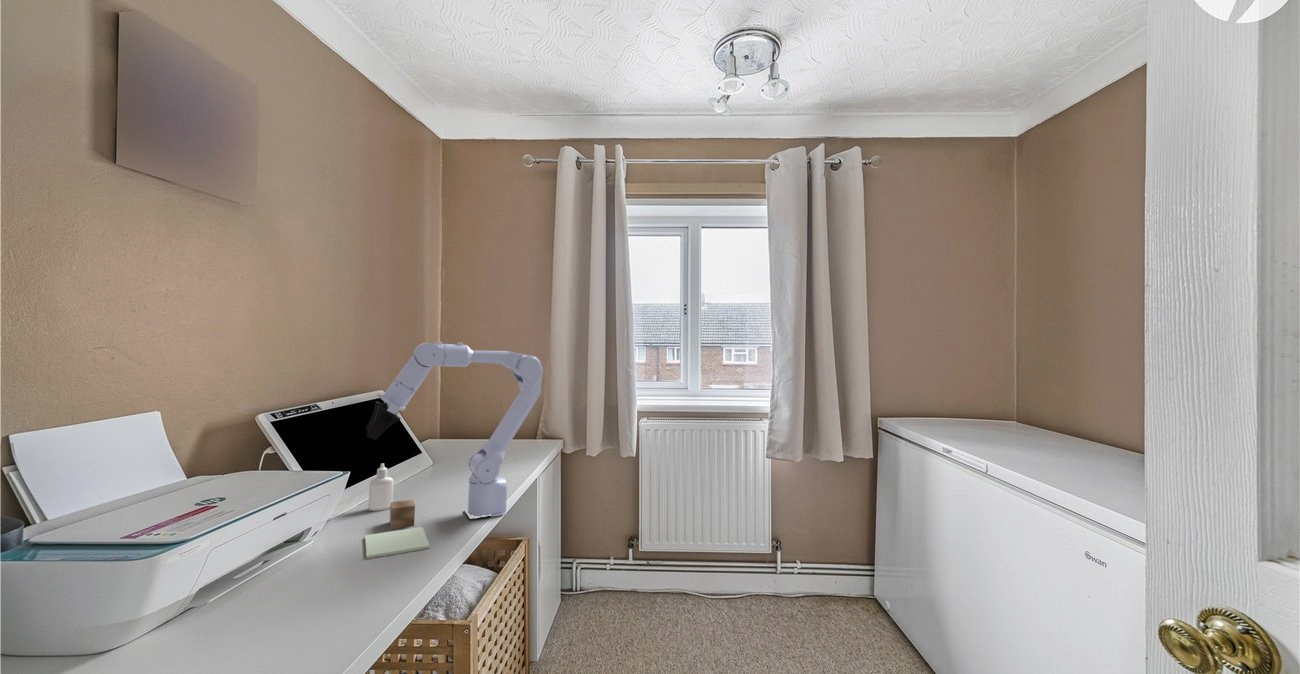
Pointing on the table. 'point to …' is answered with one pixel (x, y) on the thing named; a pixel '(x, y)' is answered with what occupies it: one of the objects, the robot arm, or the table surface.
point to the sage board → (395, 542)
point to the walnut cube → (402, 514)
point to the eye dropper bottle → (381, 490)
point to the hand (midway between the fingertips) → (370, 434)
